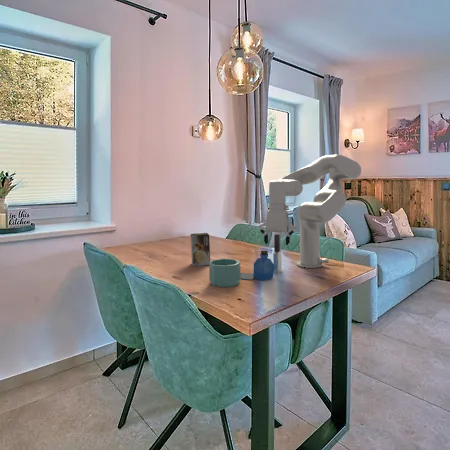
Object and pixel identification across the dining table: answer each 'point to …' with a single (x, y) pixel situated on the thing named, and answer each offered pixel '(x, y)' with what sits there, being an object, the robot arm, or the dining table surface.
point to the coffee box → (200, 249)
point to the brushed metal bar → (277, 253)
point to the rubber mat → (246, 276)
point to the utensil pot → (224, 272)
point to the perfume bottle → (263, 267)
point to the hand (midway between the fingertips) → (276, 244)
